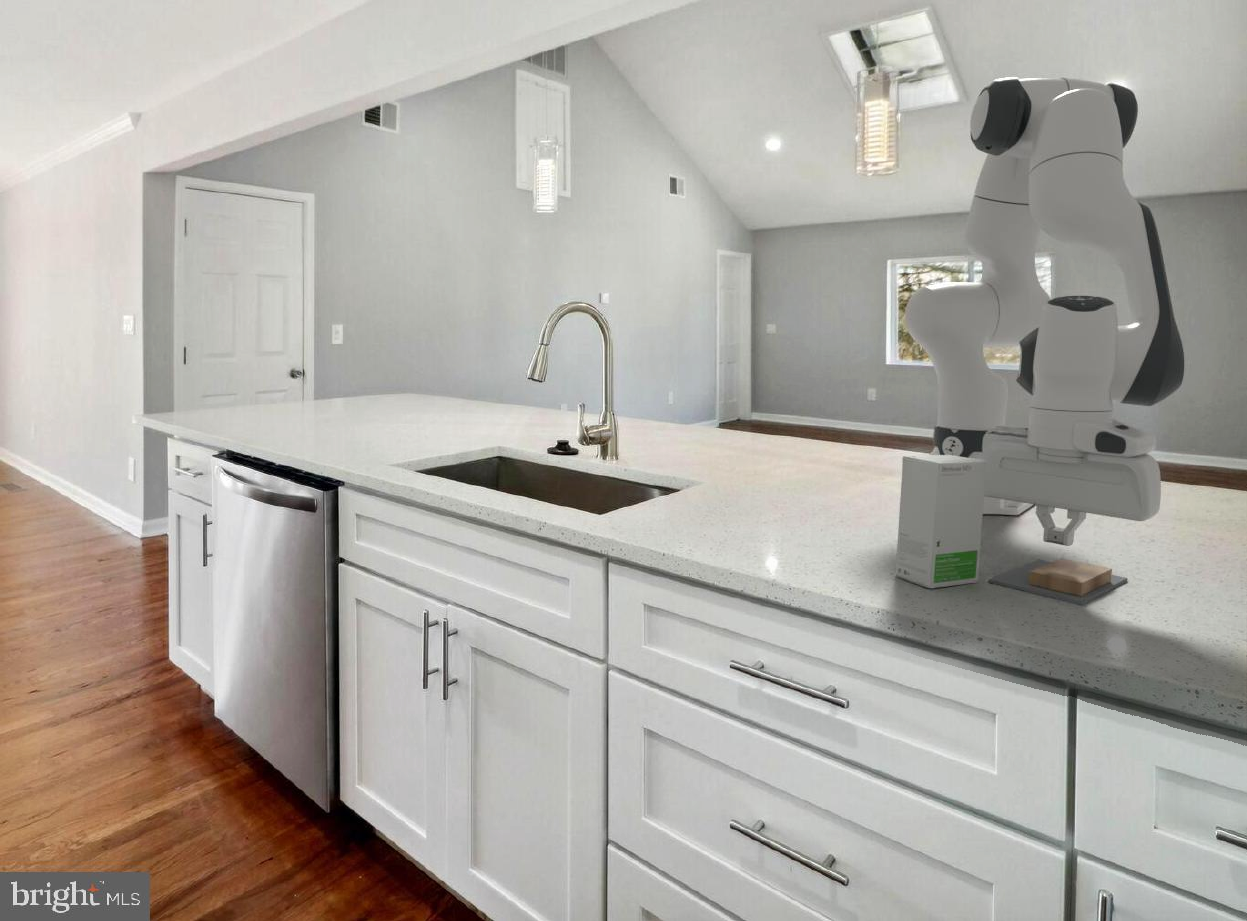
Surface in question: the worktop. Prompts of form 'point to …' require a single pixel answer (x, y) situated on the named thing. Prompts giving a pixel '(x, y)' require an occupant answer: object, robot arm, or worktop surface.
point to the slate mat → (1020, 581)
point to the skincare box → (940, 520)
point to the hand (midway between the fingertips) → (1058, 543)
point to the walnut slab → (1070, 576)
